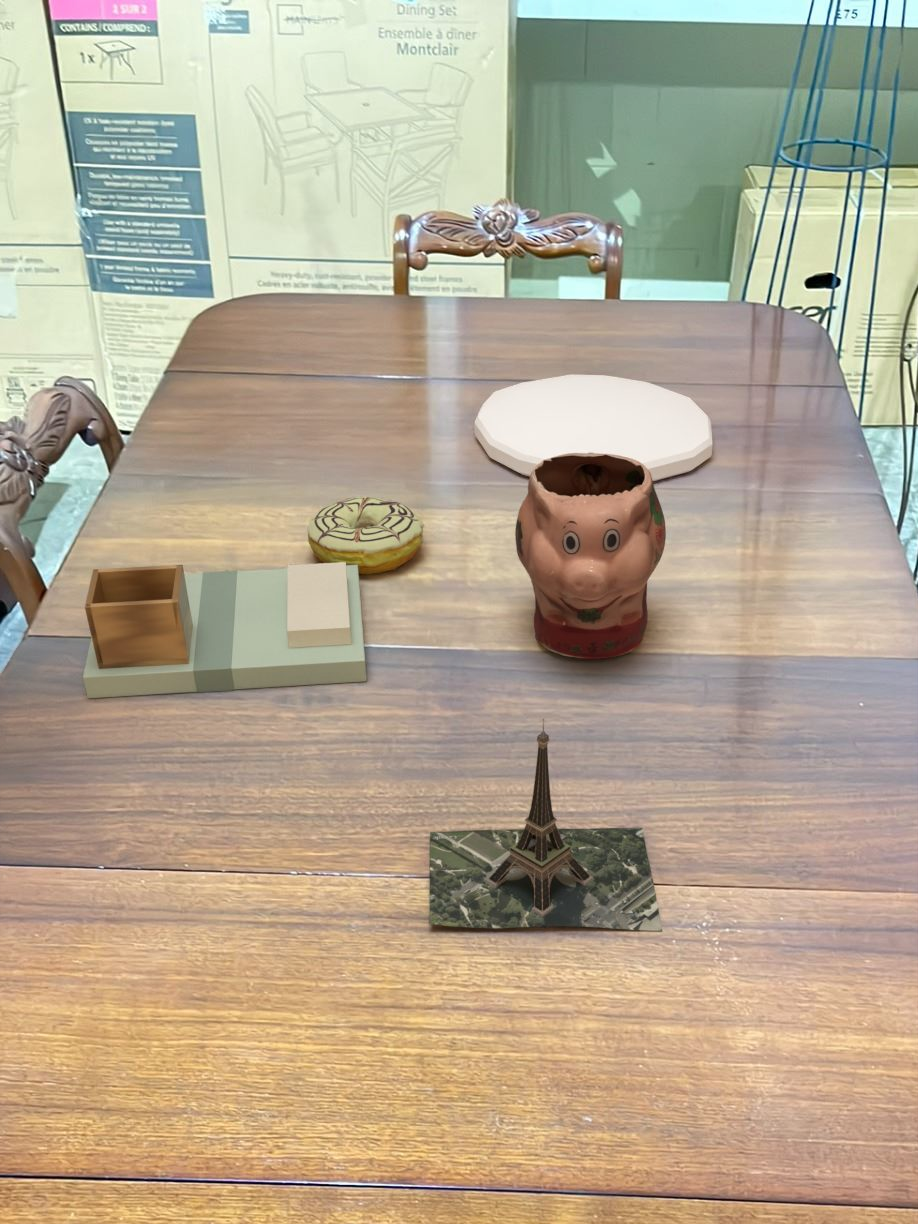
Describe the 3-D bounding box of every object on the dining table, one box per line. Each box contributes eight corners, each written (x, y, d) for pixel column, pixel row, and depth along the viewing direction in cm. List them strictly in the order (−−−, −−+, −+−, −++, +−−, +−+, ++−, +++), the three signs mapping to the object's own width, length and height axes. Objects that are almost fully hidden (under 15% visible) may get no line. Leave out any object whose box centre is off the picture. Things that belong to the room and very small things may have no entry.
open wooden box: (98, 669, 107) (84, 606, 103) (106, 630, 111) (92, 569, 108) (188, 663, 107) (177, 601, 104) (192, 625, 112) (182, 564, 108)
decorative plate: (762, 421, 138) (547, 468, 130) (757, 460, 141) (546, 509, 132) (634, 343, 155) (437, 380, 146) (632, 380, 158) (438, 418, 149)
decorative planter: (508, 569, 123) (509, 418, 114) (642, 566, 124) (653, 416, 115) (521, 689, 108) (523, 527, 99) (673, 685, 109) (689, 523, 100)
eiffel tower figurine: (645, 832, 95) (660, 667, 86) (662, 931, 87) (680, 761, 78) (430, 836, 95) (423, 671, 86) (428, 935, 87) (420, 765, 78)
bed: (87, 699, 107) (78, 659, 105) (108, 598, 119) (99, 560, 117) (366, 682, 109) (363, 642, 107) (359, 585, 121) (356, 547, 119)
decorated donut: (429, 527, 129) (428, 490, 127) (418, 582, 121) (416, 543, 119) (320, 524, 130) (317, 486, 127) (302, 578, 122) (298, 539, 119)
